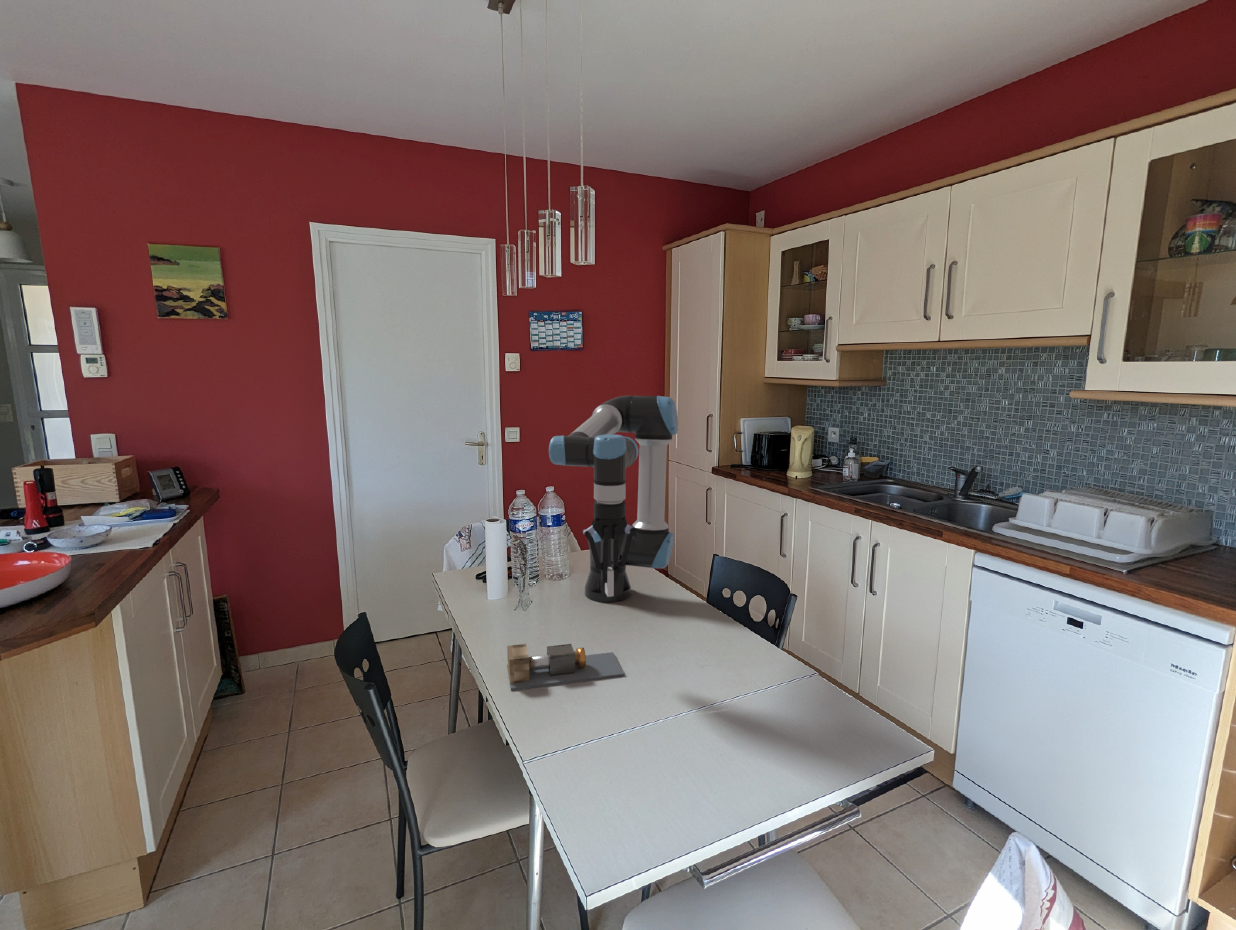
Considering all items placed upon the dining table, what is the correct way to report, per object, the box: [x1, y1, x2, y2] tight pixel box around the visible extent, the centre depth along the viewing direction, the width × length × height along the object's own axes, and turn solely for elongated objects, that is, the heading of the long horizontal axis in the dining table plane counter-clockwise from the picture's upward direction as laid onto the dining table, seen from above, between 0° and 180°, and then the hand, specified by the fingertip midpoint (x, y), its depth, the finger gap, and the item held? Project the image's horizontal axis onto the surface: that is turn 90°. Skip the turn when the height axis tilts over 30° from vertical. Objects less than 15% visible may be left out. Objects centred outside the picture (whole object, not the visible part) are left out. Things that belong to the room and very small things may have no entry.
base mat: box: [506, 651, 625, 691], centre depth 143 cm, size 27×11×1 cm, turn 105°
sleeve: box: [546, 643, 575, 677], centre depth 143 cm, size 6×5×5 cm
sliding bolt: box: [529, 647, 587, 671], centre depth 142 cm, size 16×5×5 cm, turn 105°
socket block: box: [506, 643, 530, 685], centre depth 140 cm, size 4×7×6 cm, turn 15°
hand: (609, 594), depth 143 cm, fingers closed
